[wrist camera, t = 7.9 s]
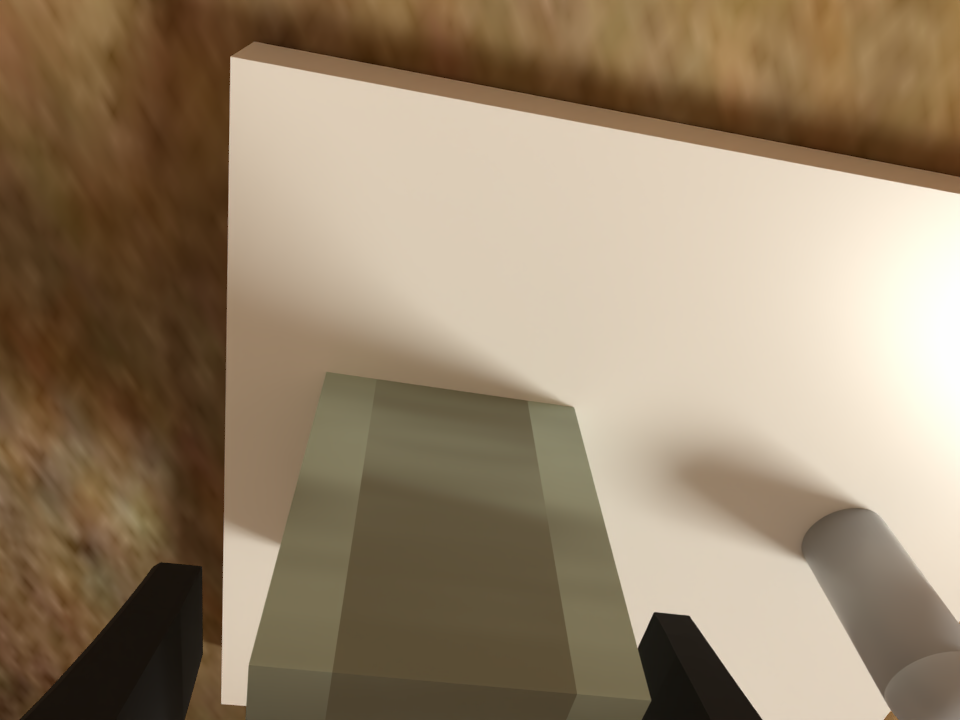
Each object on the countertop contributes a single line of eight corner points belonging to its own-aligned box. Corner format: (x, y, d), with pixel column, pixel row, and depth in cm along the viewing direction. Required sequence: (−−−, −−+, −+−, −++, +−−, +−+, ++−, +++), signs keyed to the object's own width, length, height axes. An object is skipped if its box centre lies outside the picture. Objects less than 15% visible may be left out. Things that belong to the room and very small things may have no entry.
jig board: (833, 702, 21) (953, 945, 16) (236, 651, 19) (160, 914, 14) (1173, 218, 14) (1595, 390, 9) (254, 41, 12) (105, 134, 7)
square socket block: (519, 578, 16) (554, 889, 11) (306, 554, 15) (236, 874, 10) (573, 406, 14) (651, 700, 9) (326, 371, 13) (248, 664, 8)
